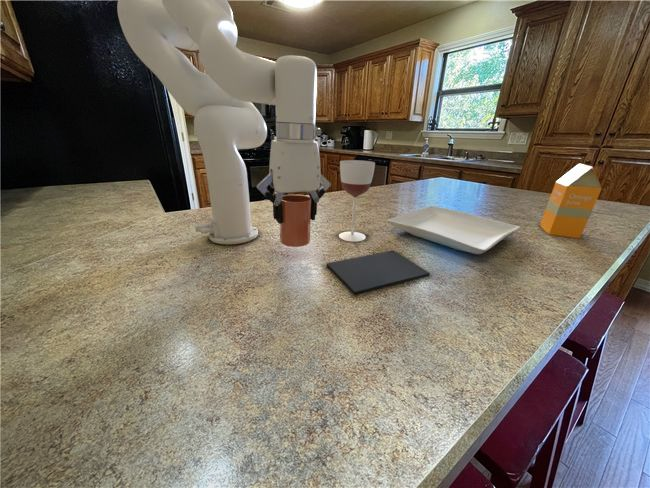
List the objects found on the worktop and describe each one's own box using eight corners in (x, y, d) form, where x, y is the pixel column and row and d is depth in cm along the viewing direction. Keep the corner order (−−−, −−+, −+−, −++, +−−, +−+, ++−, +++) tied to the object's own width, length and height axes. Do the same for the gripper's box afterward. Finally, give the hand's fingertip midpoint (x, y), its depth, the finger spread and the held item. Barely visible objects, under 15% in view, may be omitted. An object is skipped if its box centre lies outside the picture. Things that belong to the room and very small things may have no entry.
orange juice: (548, 234, 80) (574, 165, 72) (539, 225, 88) (562, 162, 80) (580, 238, 77) (612, 167, 69) (568, 229, 85) (595, 163, 77)
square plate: (481, 264, 61) (486, 249, 59) (384, 230, 79) (385, 218, 78) (518, 237, 77) (522, 224, 76) (430, 214, 96) (432, 204, 94)
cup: (285, 248, 57) (284, 203, 53) (276, 237, 63) (275, 195, 59) (314, 244, 60) (316, 201, 56) (303, 233, 66) (304, 193, 62)
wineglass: (367, 243, 70) (374, 164, 62) (334, 240, 72) (337, 162, 64) (368, 232, 77) (375, 161, 70) (338, 230, 79) (342, 159, 71)
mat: (354, 294, 48) (355, 291, 48) (326, 265, 58) (326, 263, 58) (429, 275, 56) (430, 273, 55) (393, 252, 65) (393, 250, 65)
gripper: (327, 134, 59) (323, 211, 66) (246, 131, 52) (252, 218, 59) (343, 136, 53) (337, 221, 60) (254, 133, 46) (259, 230, 53)
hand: (295, 219), depth 59 cm, fingers closed on cup, 6 cm apart
